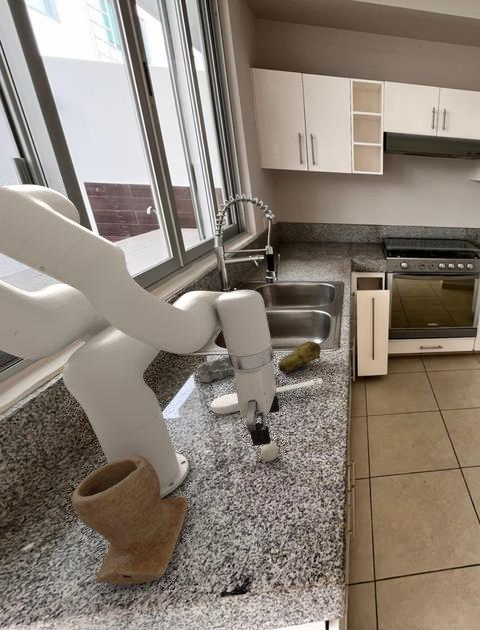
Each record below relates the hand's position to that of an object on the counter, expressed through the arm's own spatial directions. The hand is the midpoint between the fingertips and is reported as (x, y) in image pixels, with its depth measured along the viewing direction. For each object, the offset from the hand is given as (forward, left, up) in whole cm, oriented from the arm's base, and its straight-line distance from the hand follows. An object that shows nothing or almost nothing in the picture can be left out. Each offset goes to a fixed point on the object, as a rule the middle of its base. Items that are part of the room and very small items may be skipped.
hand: (267, 426), depth 71 cm
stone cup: (-16, +18, -9) cm, 25 cm away
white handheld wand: (+22, +5, -9) cm, 24 cm away
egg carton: (+38, +23, -9) cm, 45 cm away
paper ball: (0, +1, -7) cm, 7 cm away
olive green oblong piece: (+38, -1, -9) cm, 39 cm away
